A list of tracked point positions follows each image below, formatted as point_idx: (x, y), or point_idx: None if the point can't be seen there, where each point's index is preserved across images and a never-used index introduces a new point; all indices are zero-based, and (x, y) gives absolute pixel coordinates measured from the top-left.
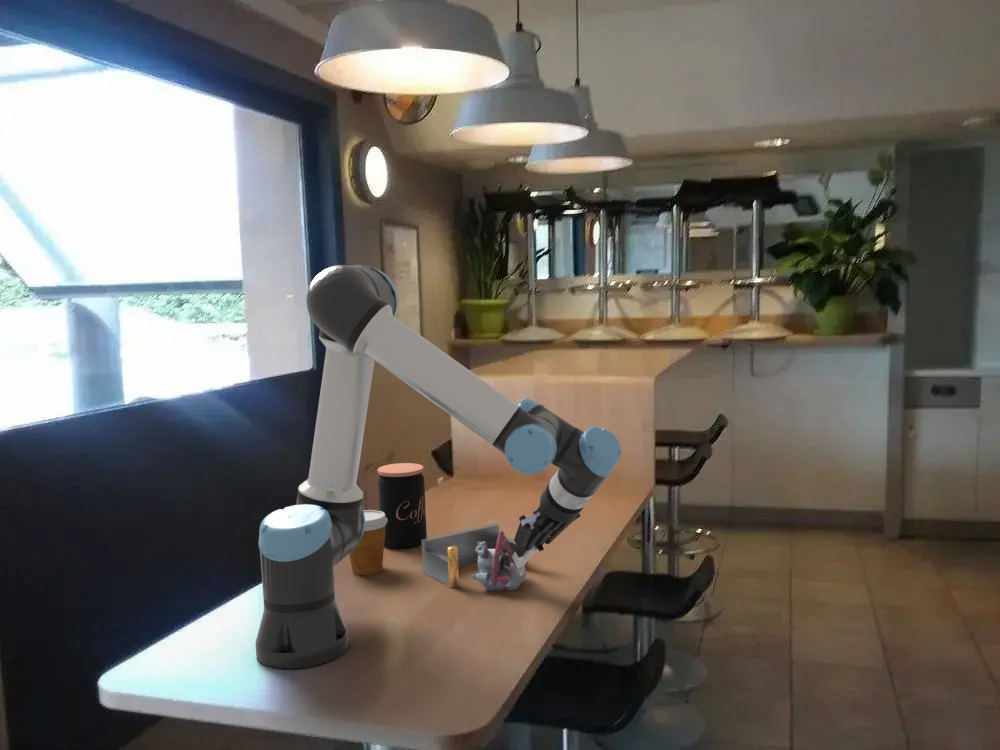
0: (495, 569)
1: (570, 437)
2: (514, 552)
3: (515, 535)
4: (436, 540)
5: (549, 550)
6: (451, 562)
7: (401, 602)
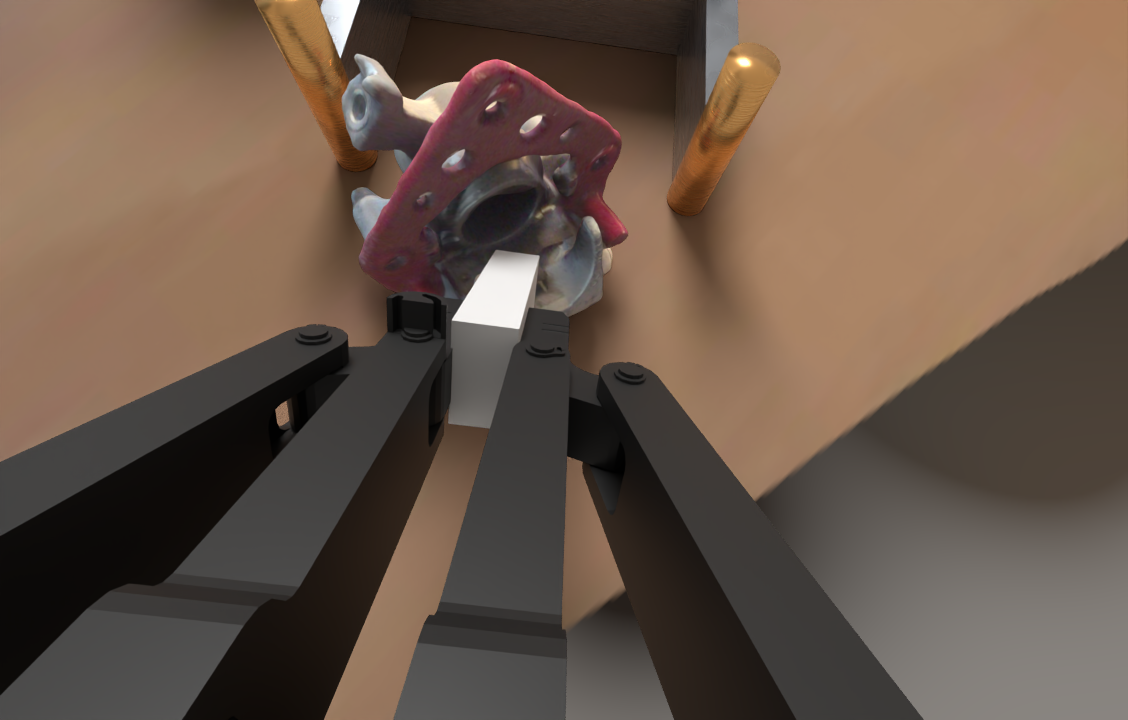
0: (381, 270)
1: None
2: (488, 262)
3: (216, 363)
4: None
5: (885, 136)
6: (292, 73)
7: (99, 139)
